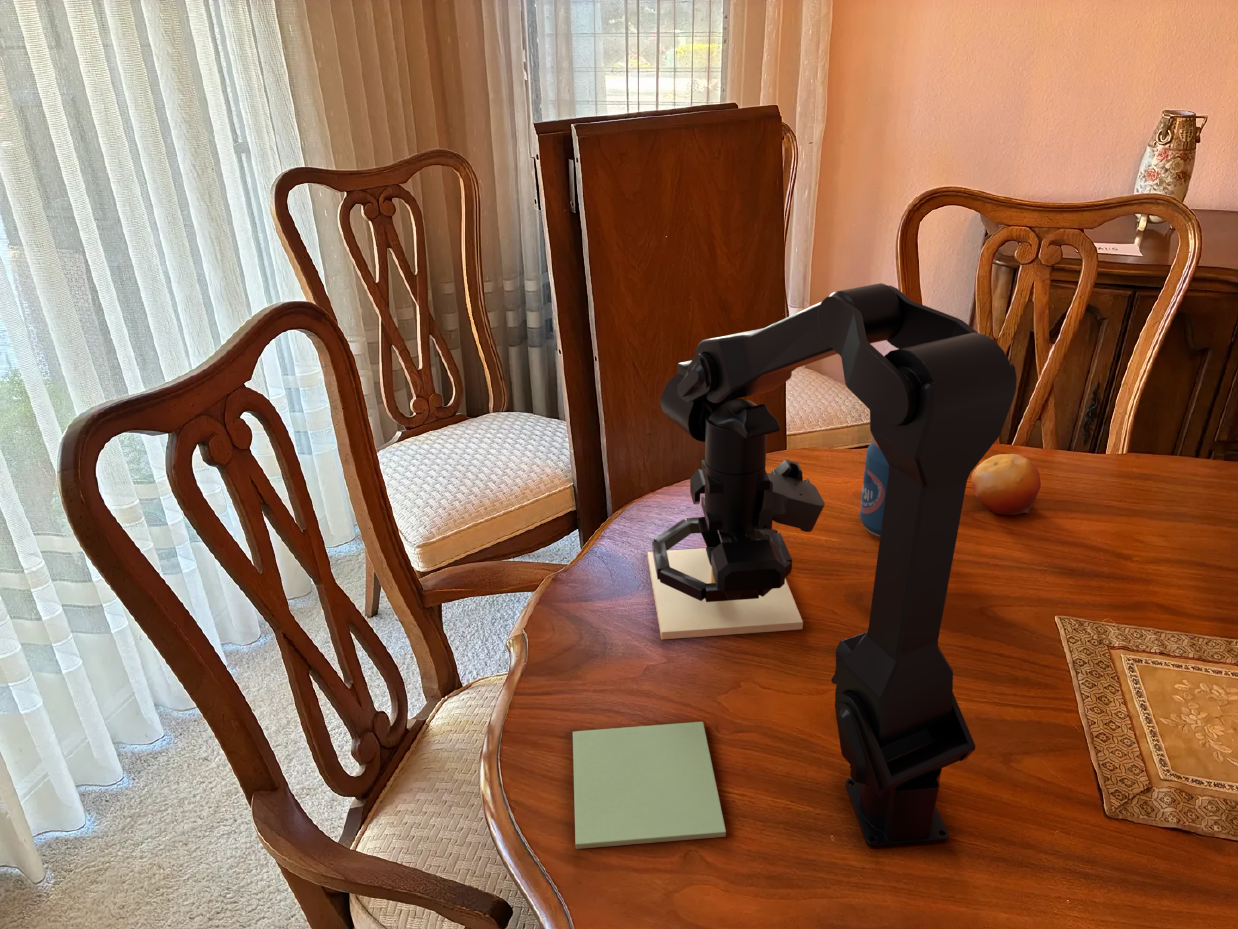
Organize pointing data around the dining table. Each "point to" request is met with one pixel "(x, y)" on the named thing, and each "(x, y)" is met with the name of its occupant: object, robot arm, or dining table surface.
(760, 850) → the dining table surface
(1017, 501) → the fruit
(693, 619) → the stand
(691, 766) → the mat
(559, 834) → the dining table surface
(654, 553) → the ring
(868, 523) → the soda can
